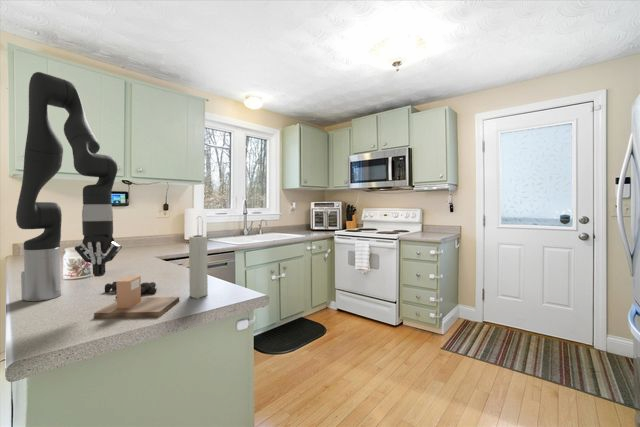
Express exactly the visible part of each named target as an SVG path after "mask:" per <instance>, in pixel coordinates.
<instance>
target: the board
mask: <svg viewBox="0 0 640 427" xmlns="http://www.w3.org/2000/svg"><path fill="white" fill-rule="evenodd" d="M179 302H180V296H159V297H157V296H156V297H154V296H153V297H150V296H149V297H141V301H140V302H138V303H137V304H135V305H133V306H132V307H130V308H117V300H116V301H115V302H113V303H111V304H109V305H107V306H105V307H103V308H101V309H99V310H97V311H96V312H93V319H118V318H120V319H121V318H123V319H124V318H128V319H129V318H160V317H161V316H162V315H164V314H165V313H166V312H167V311H168V310H170V309H171V308H173V307H174V306H176V304H178V303H179Z"/></svg>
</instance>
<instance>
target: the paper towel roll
mask: <svg viewBox="0 0 640 427" xmlns="http://www.w3.org/2000/svg"><path fill="white" fill-rule="evenodd" d="M188 253H189V254H188V256H189V257H188V261H189V262H188V265H189V268H188V269H189V272H188V273H189V274H188V275H189V280H188V281H189V284H188V285H189V297H191V298H193V299H200V298H202V297H205V296H207V295H208V294H209V292H208V291H209V290H208V285H209V284H208V236H207V235H203V234H202V235H201V234H198V235H197V234H196V235H191V236H188Z"/></svg>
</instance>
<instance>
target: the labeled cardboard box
mask: <svg viewBox="0 0 640 427" xmlns="http://www.w3.org/2000/svg"><path fill="white" fill-rule="evenodd" d="M141 278H142V277H141V276H139V275H135V276H134V275H133V276H130V275H129V276H127V277H125V278H122V279H119V280H116V286H117V290H116V296H117V299H116V301H117V308H130V307H132V306H133V305H135V304H137V303H138V302H140V301H141V298H142V295H141V294H142V293H141V284H142V283H141Z"/></svg>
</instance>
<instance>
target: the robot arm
mask: <svg viewBox="0 0 640 427" xmlns="http://www.w3.org/2000/svg"><path fill="white" fill-rule="evenodd" d="M48 106H52V107H54V108H55V107H56V108H60V109H65V111H66V112H67V113H68V117H67V119H66V120H65V122H64V125H63V132H64V136H65V138H66V140H67V141H68V143H69V145H70V147H71V150H72V158H73V167H74V169H75V171H76V172H77V173H78V174H80V175H82V176H83V177H92V178H98V179H97V182H96V183H94V184H93V183H92V184H87V185H85V186H84V187H83V188H82V209H81V210H82V211H81V219H82V220H81V223H82V227H81V228H82V236H83V239H82V242H81V244H79V245H77V246H75V247H74V250H75V252H77V254H78V255H79V256H80V257H81V258H82V259H83V261H84V262H85V263H90V264H92V274H93V276H94V277H103V276H105V275H106V263H108V262H111V261H112V260H113V259H114V258H115V257H116V256H117V254H118V253H119V252H120V250H121V249H122V248H123V246H122V245H121V244H118V243H116V242H115V238H114V237H113V235H114V213H113V212H114V211H113V207H112V206H113V204H112V202H113V201H112V191H113V190H112V189H113V186H114V184H115V181H116V177H117V174H118V163H117V161H116V159H114V158H113V157H112V156H110V155H105V154H101V153H100V154H99V153H98V152H100V148H101V146H100V143H99V141H98V139H97V137H96V136H95V134H94V132H93V130H92V129H91V126H90V124H89V122H88V120H87V117H86V116H87V115H86V112H85V109H84V107H83V102H82V99H81V97H80V94H79V90H78V89H77V88H76V85H75V84H73V83H72V82H71V81H69V80H66V79H63V78H60V77H57V76H54V75H51V74H48V73H44V72H41V71H36V72H33V73H32V74H31V77H30V80H29V84H28V124H27V134H26V139H25V140H26V141H25V146H24V147H25V148H24V155H23V157H24V158H23V171H22V172H23V173H22V183H21V187H20V192H19V198H18V202H17V206H16V212H15V220H16V225H17V227H18V228H19V229H22V230H41V229H43V232H42V233H41V234H39V235H37V236H35V237H33V238H30V239H26V240H25V241H24V242H23V263H24V264H23V269H24V270H23V271H21V273H20V279H21V280H20V283H21V289H20V290H21V291H20V292H21V301H25V302H38V301H39V302H40V301H46V300H51V299H55V298H57V297H60V296H62V287H61V286H62V285H61V284H62V281H61V280H62V278H61V240H62V239H61V238H62V221H63V220H62V216H63V215H62V209H61V207H60V205H59V204H58V203H57V202H50V201H49V202H48V201H46V202H45V201H44V202H43V201H42V202H41V201H40V202H39V201H37V199H38V196H39V194H40V192H41V190H42V189H43V187H44V186H45V185H46V184H47V183H48V182H49V181H50V180H51V179H53V178H54V176H56V175H57V173H58V172H59V171H60V169H61V168H62V162H63V156H64V147H63V144H62V142H61V140H60V139H59V138H60V137H59V136H58V135H57V133H56V132H55V130H54V129H53V127H52V125H51V123H50V119H49V114H48Z"/></svg>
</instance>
